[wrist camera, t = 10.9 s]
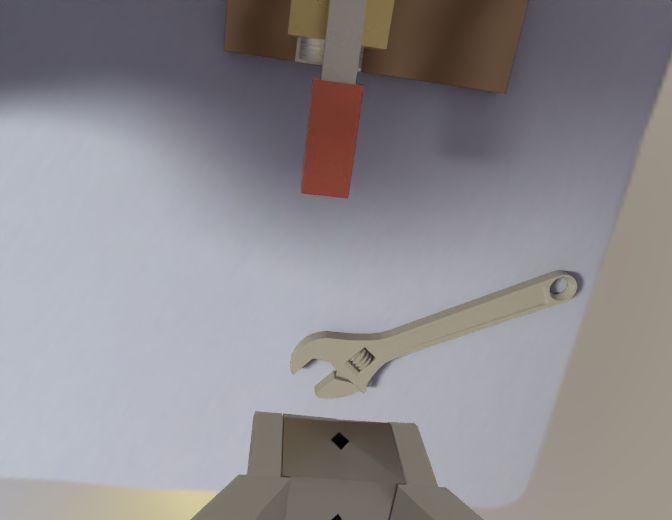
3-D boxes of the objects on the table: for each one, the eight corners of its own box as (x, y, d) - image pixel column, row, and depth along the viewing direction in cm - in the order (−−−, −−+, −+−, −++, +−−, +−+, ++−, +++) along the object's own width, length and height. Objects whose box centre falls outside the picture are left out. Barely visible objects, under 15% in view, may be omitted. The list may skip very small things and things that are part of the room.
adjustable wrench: (566, 262, 47) (576, 270, 45) (573, 326, 49) (583, 335, 47) (285, 338, 47) (285, 349, 45) (306, 398, 49) (306, 410, 48)
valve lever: (326, -69, 27) (328, -76, 25) (382, -60, 27) (387, -66, 26) (299, 186, 31) (299, 192, 30) (347, 191, 32) (349, 198, 30)
